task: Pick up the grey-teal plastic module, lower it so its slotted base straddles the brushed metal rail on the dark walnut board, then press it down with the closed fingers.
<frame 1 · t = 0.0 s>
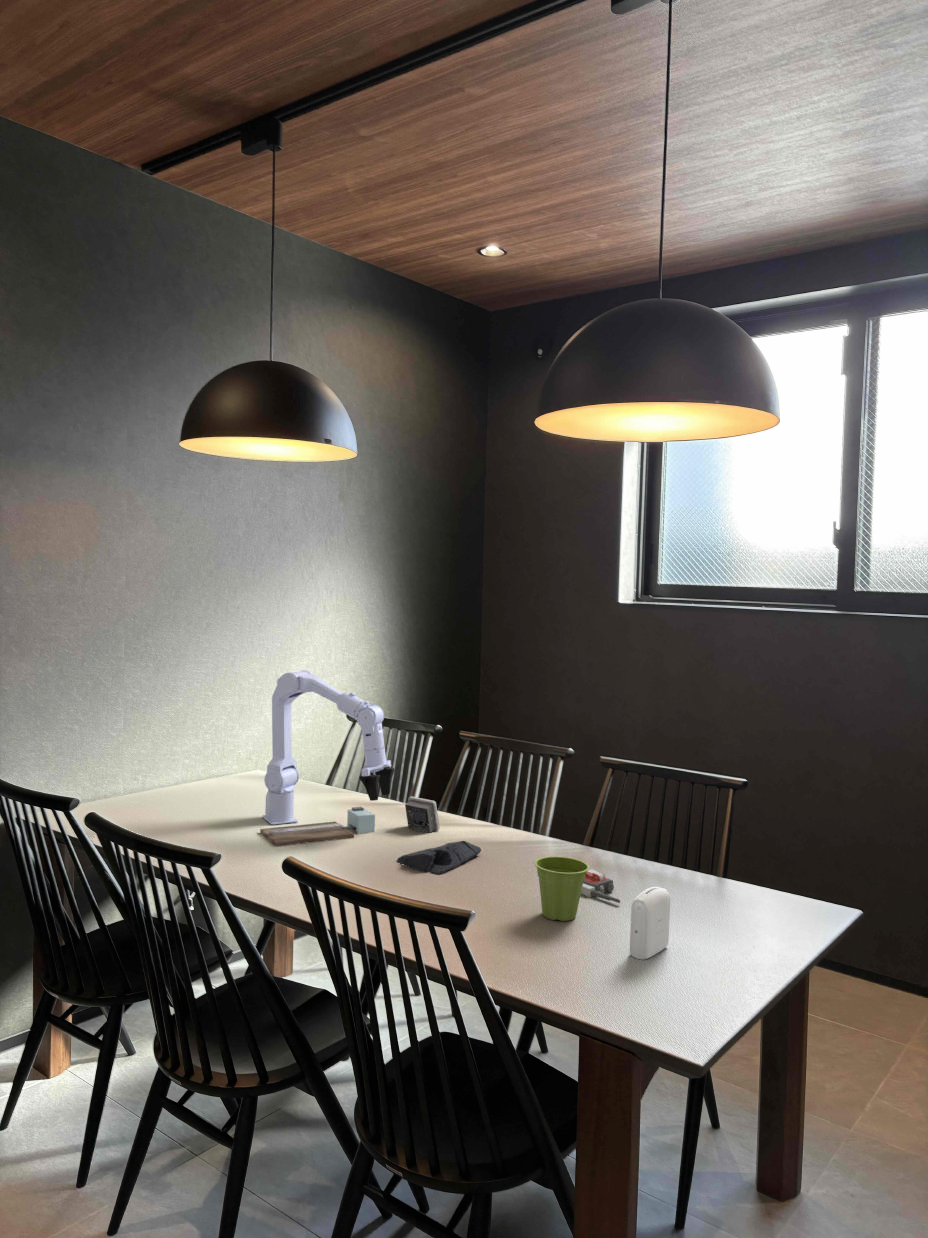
hand: (380, 797, 251), 11 cm above the table, tool pointing down, fingers open, 7 cm apart
dark slate chunk: (441, 862, 231), on the table
module: (360, 829, 257), on the table
rail board: (306, 835, 249), on the table
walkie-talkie: (594, 893, 212), on the table
plant pot: (559, 916, 195), on the table
photo printer: (648, 952, 177), on the table
electrical switch: (422, 831, 259), on the table
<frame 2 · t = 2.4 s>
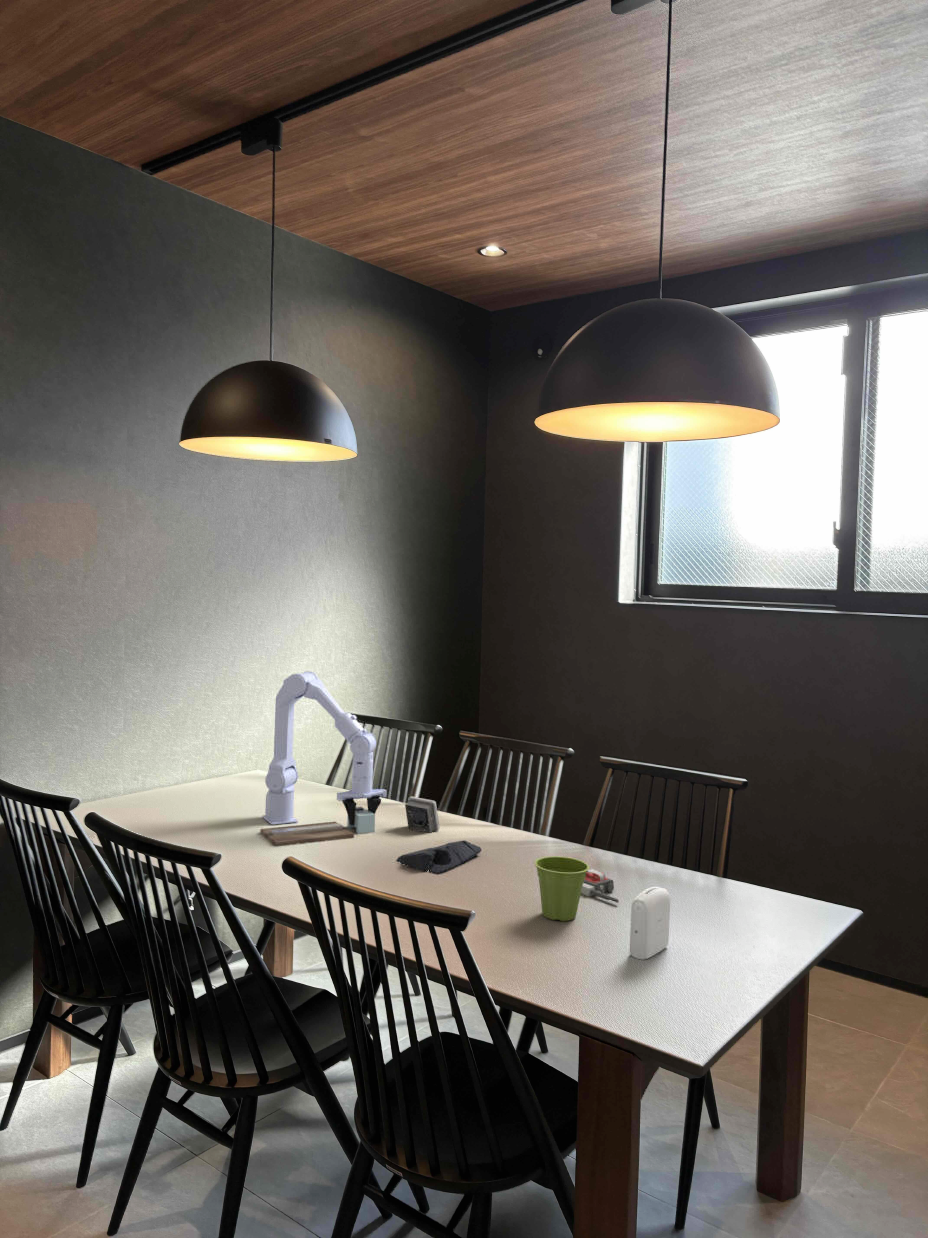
hand: (360, 823, 257), 2 cm above the table, tool pointing down, fingers closed on module, 5 cm apart
module: (360, 829, 257), on the table, touching gripper
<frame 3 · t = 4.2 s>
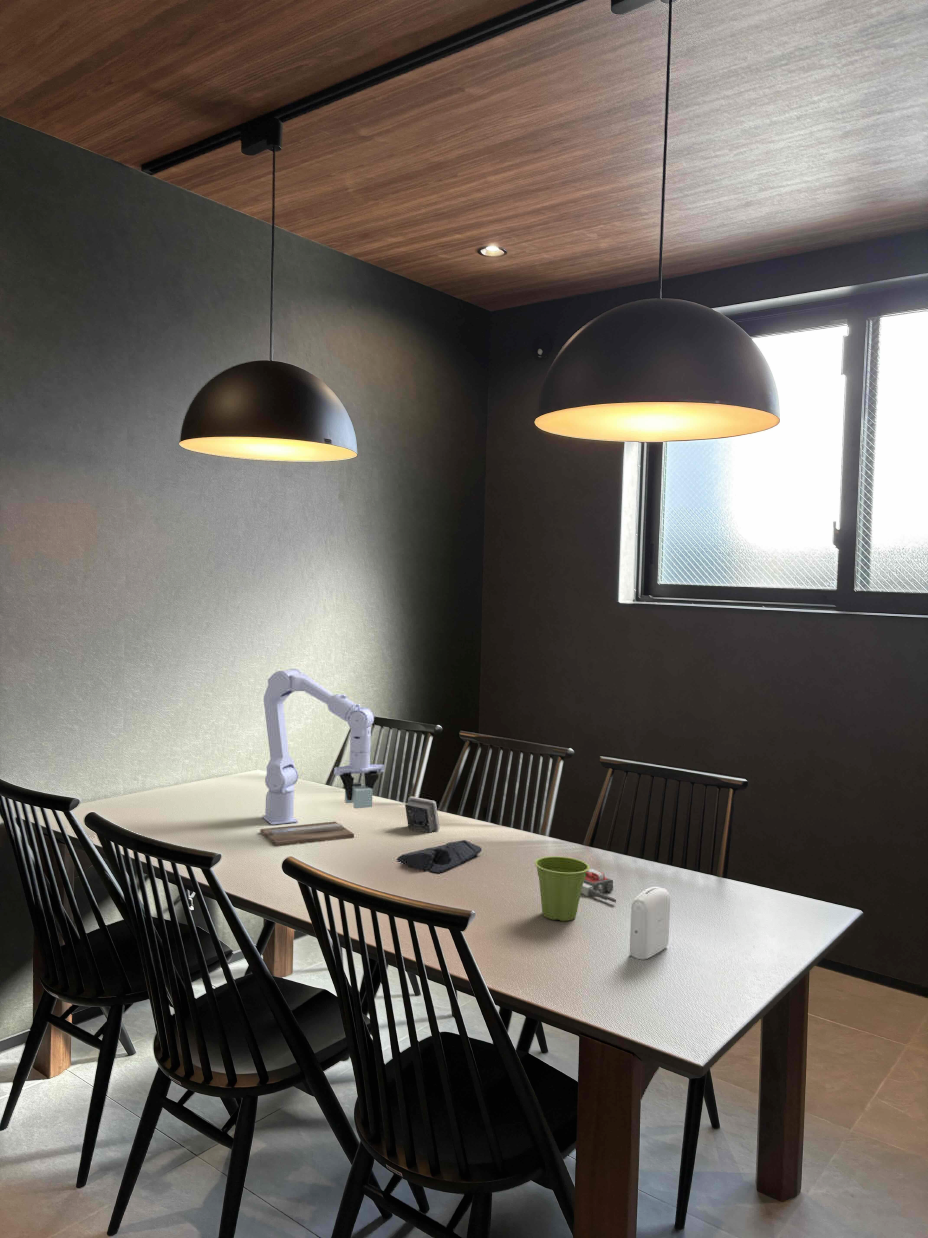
hand: (358, 798, 256), 9 cm above the table, tool pointing down, fingers closed on module, 5 cm apart
module: (358, 804, 256), point 7 cm above the table, touching gripper
everything else where it was.
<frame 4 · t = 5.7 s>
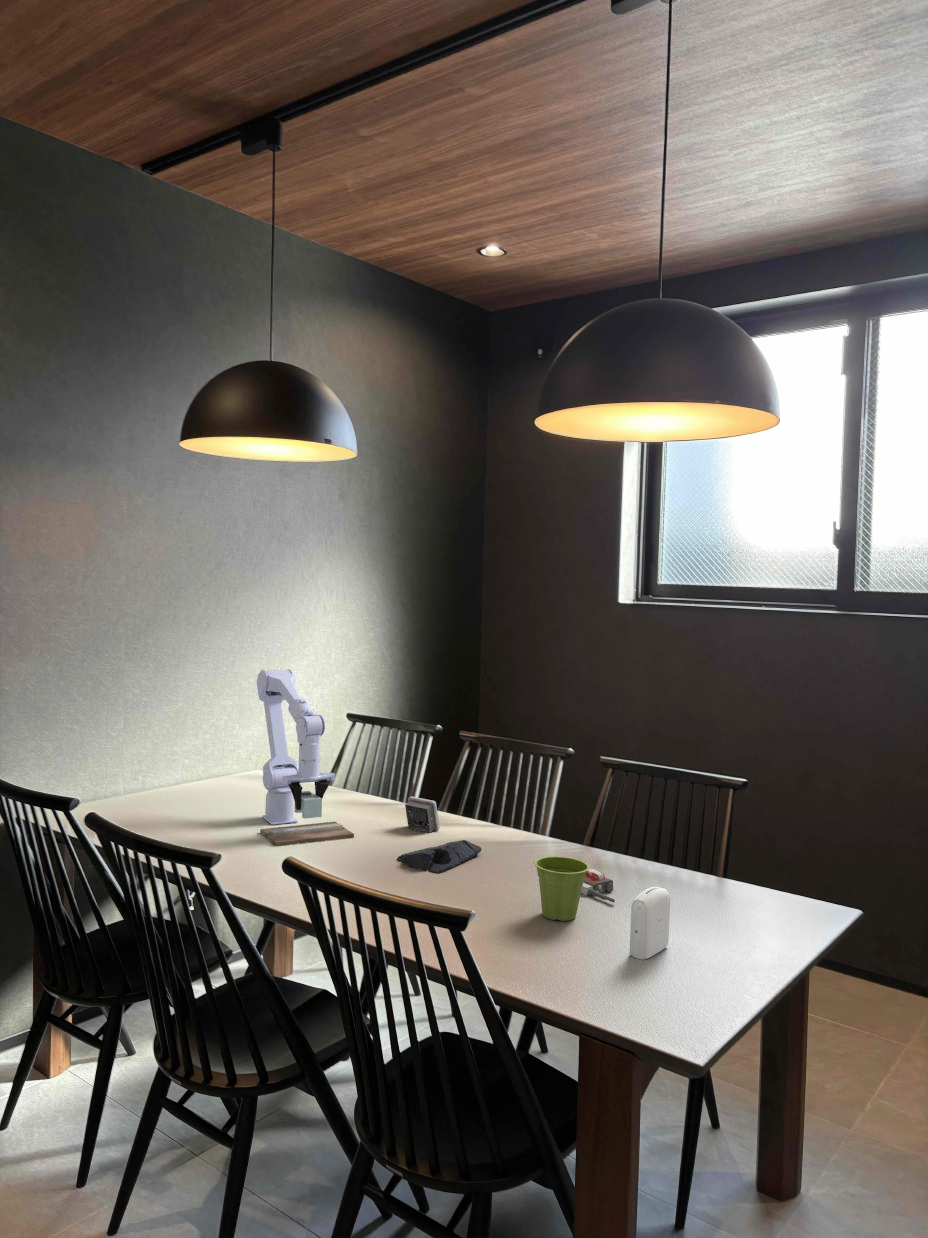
hand: (307, 808, 249), 7 cm above the table, tool pointing down, fingers closed on module, 5 cm apart
module: (307, 814, 249), point 6 cm above the table, touching gripper
everything else where it was.
when the fingers open (4 cm above the table, at t = 7.2 s): module stays where it is, resting on rail board.
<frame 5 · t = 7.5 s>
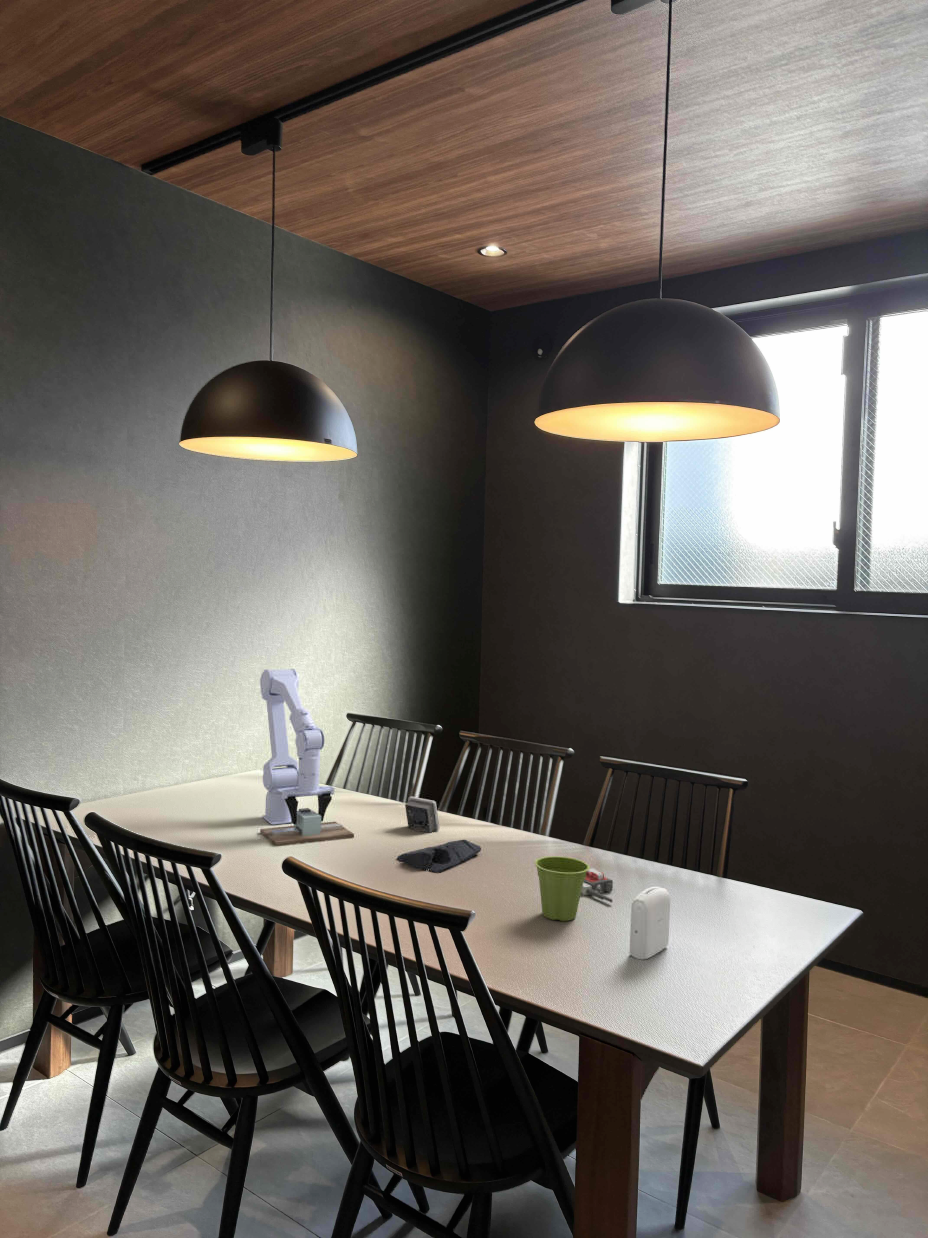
hand: (307, 822, 249), 4 cm above the table, tool pointing down, fingers open, 7 cm apart
module: (307, 831, 249), point 1 cm above the table, touching rail board
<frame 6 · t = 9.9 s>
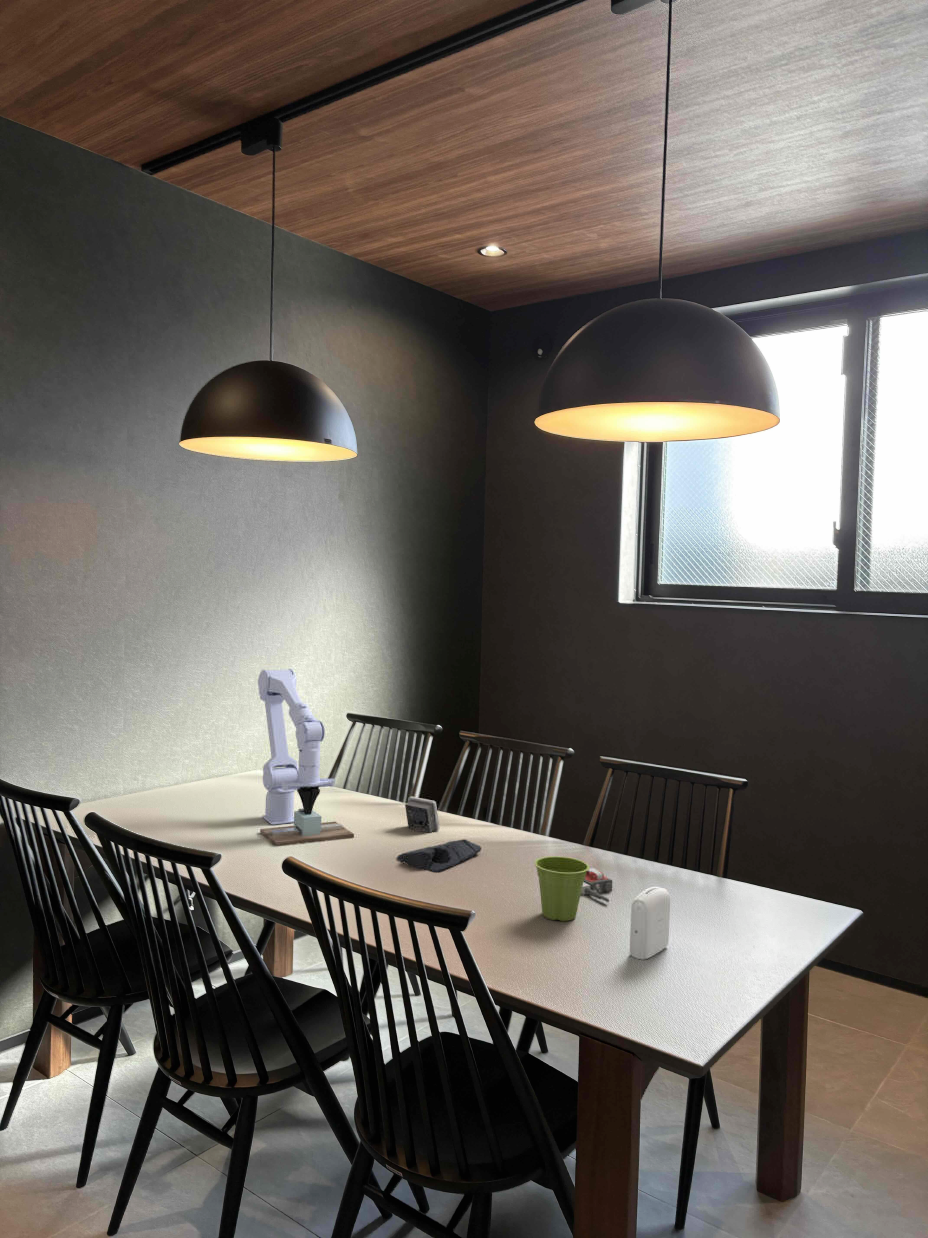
hand: (307, 814, 249), 6 cm above the table, tool pointing down, fingers closed, pressing on module
module: (307, 831, 249), point 1 cm above the table, touching gripper, rail board
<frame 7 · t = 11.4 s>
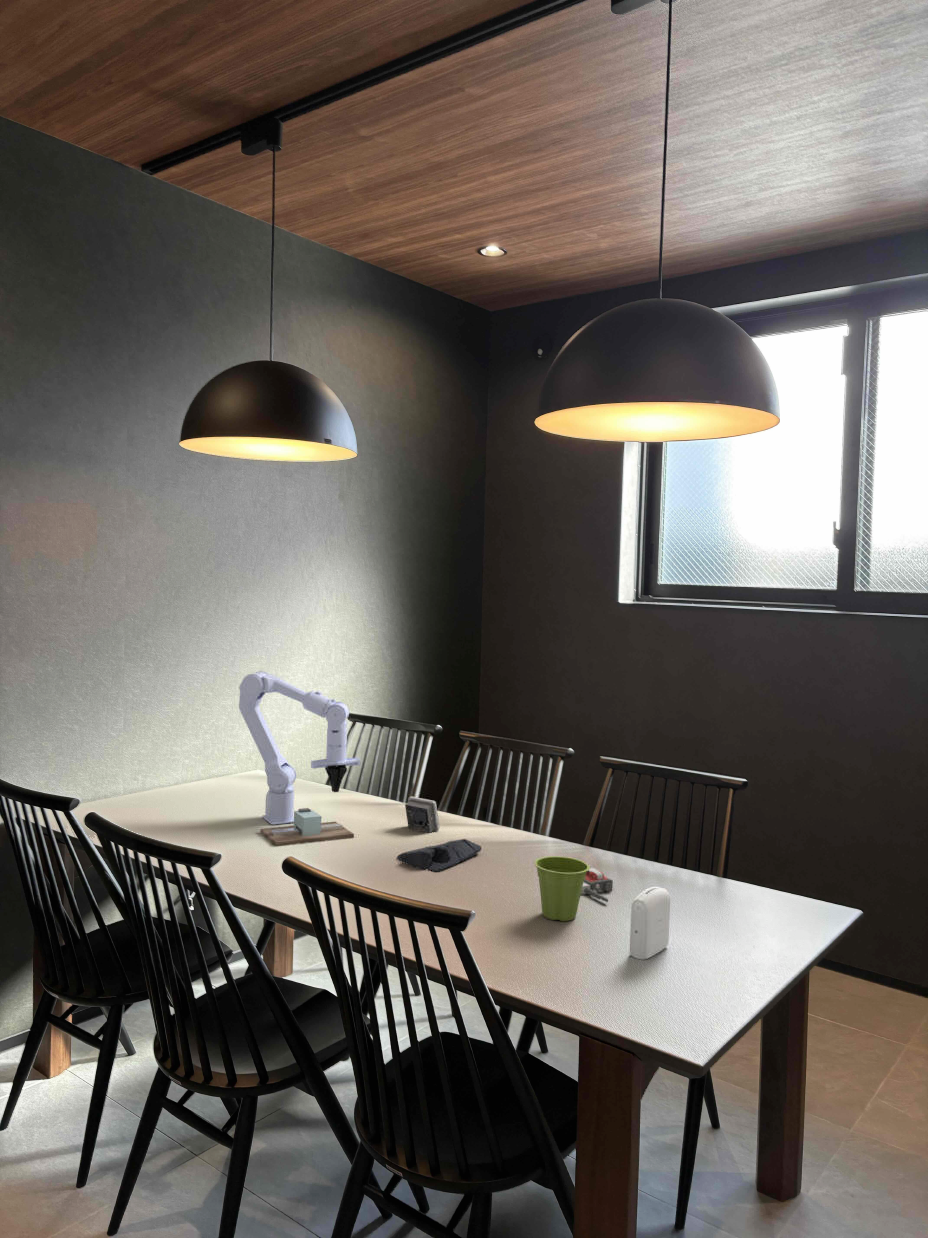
hand: (335, 791, 261), 9 cm above the table, tool pointing down, fingers closed
module: (307, 831, 249), point 1 cm above the table, touching rail board
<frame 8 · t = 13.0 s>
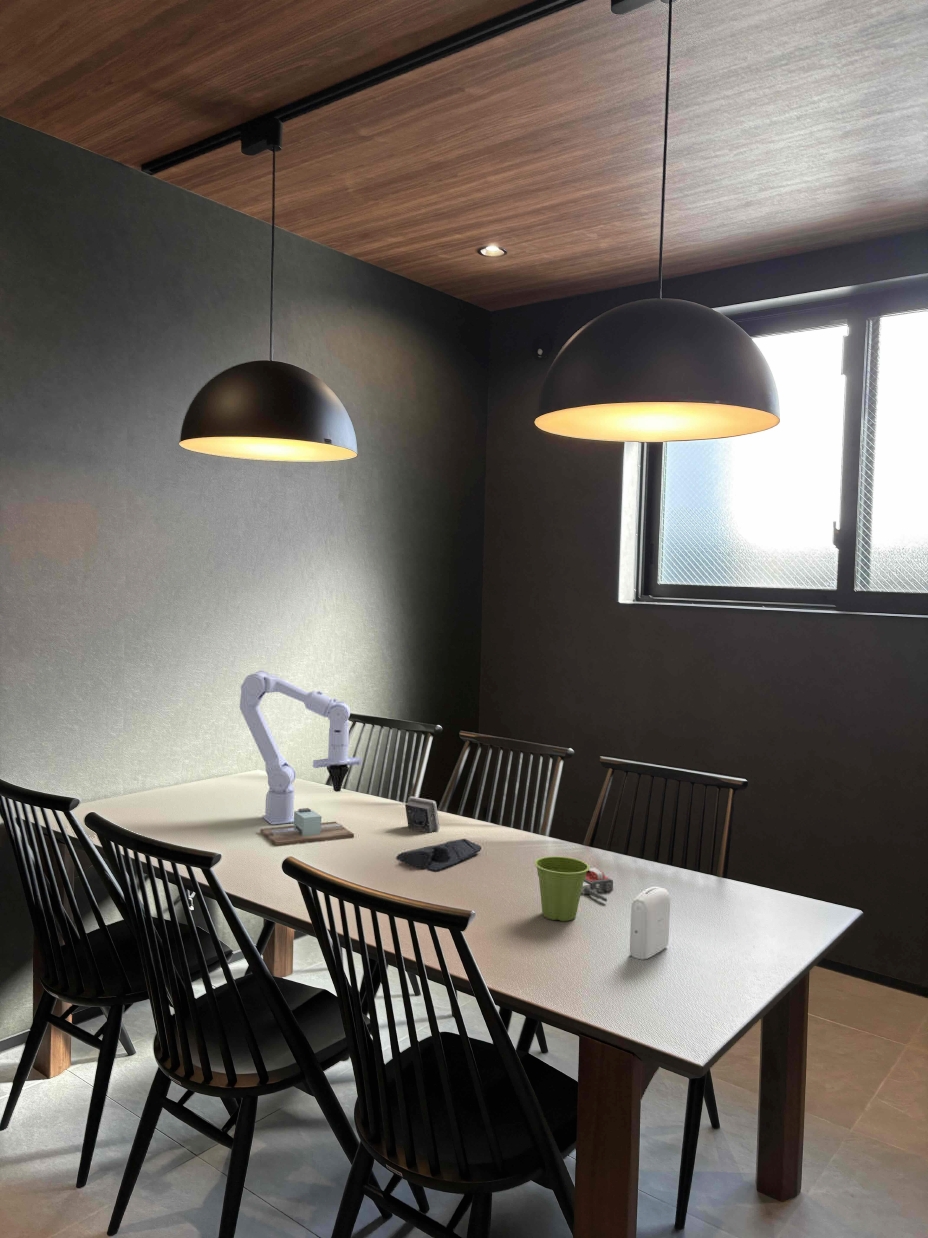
hand: (336, 790, 262), 9 cm above the table, tool pointing down, fingers closed
at the end: module 0.1 cm off-centre on the rail board, point 1.0 cm above the rail board's base; module tilted 0°; the gripper is holding nothing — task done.
